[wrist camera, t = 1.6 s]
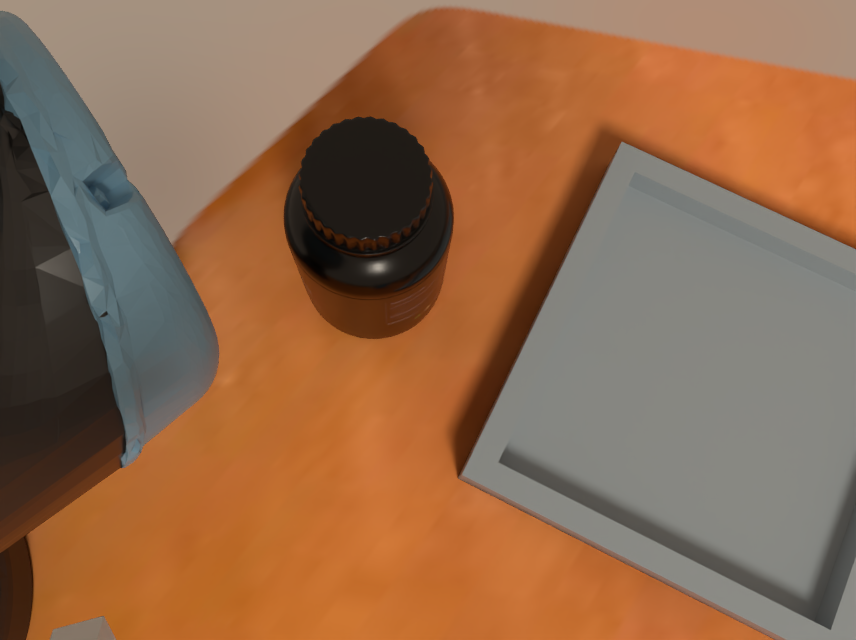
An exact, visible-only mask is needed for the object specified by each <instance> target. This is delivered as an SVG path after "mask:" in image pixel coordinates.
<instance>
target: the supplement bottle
mask: <svg viewBox="0 0 856 640" xmlns="http://www.w3.org/2000/svg"><path fill="white" fill-rule="evenodd" d="M301 166H302V167H301V169H300V170H299V171H298V173H297V174H296V176H295V177H294V179H293V181H292V183H291V185H290V188H289V190H288V193H287V197H286V200H285V206H284V227H285V233H286V238H287V242H288V245H289V248H290V250H291V253H292V255H293V258H294V260H295V263H296V265H297V268H298V270H299V273H300V275H301V278H302V280H303V283H304V285H305V288H306V291H307V293H308V295H309V297H310V299H311V301H312V303H313V305H314V306H315V308H316V310H317V311H318V312H319V313H320V315H321V316H322V317H323V318H324V319H325V320H326V321H327V322H329V323H330V324H331V325H332V326H334V327H335V328H337V329H339V330H340V331H342V332H344V333H347V334H349V335H352V336H356V337H360V338H367V339H380V338H387V337H391V336H395V335H398V334H401V333H403V332H405V331H407V330H409V329H410V328H412V327H414V326H415V325H416V324H418V323H419V322H420V321H421V320H422V319H423V318H424V317H425V316H426V315H427V314H428V313H429V311H430V310H431V308H432V307H433V305H434V304H435V302H436V300H437V298H438V295H439V293H440V290H441V286H442V282H443V278H444V273H445V268H446V263H447V258H448V253H449V248H450V243H451V238H452V233H453V223H454V212H453V204H452V199H451V195H450V192H449V189H448V187H447V185H446V182H445V180H444V179H443V177H442V175H441V174H440V172H439V171H438V169H437V168H436V167H435V166H434V165H433V163H432V162H431V161H430V160H429V158H428V156H427V155H426V154H425V151H424V147H423V146H422V145H420V144H419V143H418V141H417V139H416V137H414V136H413V135H410V134H409V133H408V131H407V130H406V129H404V128H401V127H399V126H398V125H397V124H396V123H393V122H387V121H386V120H385V119H375V118H373V117H366V118H361V117H356V118H354V119H345V120H343V121H342V122H341V123H336V124H333V125H332V126H331V127H330V128H329V129H327V130H324V131H322V133H321V134H320V136H319V137H317V138H315V139H313V142H312V145H311V146H310V147H309V148H307V149H306V156H305V157H304V158H303V159H302V161H301Z"/></svg>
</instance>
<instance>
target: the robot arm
mask: <svg viewBox="0 0 856 640" xmlns="http://www.w3.org/2000/svg"><path fill="white" fill-rule="evenodd" d="M218 363H219V345H218V340H217V335H216V332H215V329H214V326H213V324H212V321H211V319H210V317H209V315H208V312H207V310H206V308H205V306H204V304H203V302H202V300H201V298H200V296H199V294H198V292H197V290H196V288H195V286H194V284H193V283H192V281H191V279H190V277H189V275H188V273H187V271H186V269H185V268H184V266H183V264H182V262H181V260H180V259H179V257H178V255H177V253H176V251H175V250H174V248H173V246H172V244H171V243H170V241H169V239H168V237H167V236H166V234H165V232H164V230H163V229H162V227H161V226H160V224H159V222H158V221H157V219H156V217H155V216H154V214H153V213H152V211H151V209H150V208H149V206H148V204H147V203H146V201H145V199H144V198H143V197H142V195H141V194H140V193H139V191H138V190H137V189H136V187H135V186H134V185H133V184H131V183H130V182H129V181H128V180H127V175H126V170H125V169H124V167H123V165H122V164H121V162H120V161H119V159H118V158H117V156H116V155H115V153H114V152H113V150H112V149H111V146H110V144H109V142H108V140H107V138H106V136H105V135H104V132H103V131H102V129H101V128H100V126H99V125H98V123H97V122H96V120H95V118H94V117H93V115H92V114H91V112H90V111H89V109H88V107H87V106H86V104H85V103H84V101H83V100H82V98H81V97H80V95H79V94H78V92H77V91H76V89H75V88H74V86H73V85H72V83H71V82H70V81H69V79H68V78H67V76H66V75H65V73H64V72H63V70H62V69H61V68H60V66H59V65H58V63H57V62H56V61H55V59H54V58H53V56H52V55H51V54H50V52H49V51H48V50H47V48H46V47H45V46H44V44H43V43H42V42H41V40H40V39H39V38H38V37H37V36H36V34H35V33H34V32H33V31H32V30H31V29H30V28H29V26H28V25H27V24H26V23H25V22H24V21H23V20H21V19H20V18H19V17H17V16H16V15H14V14H11V13H9V12H5V11H0V640H26V636H27V632H28V627H29V621H30V615H31V605H32V574H31V567H30V560H29V555H28V550H27V546H26V543H25V539H24V536H25V535H26V534H28V533H29V532H31V531H32V530H33V529H35V528H36V527H38V526H39V525H40V524H42V523H43V522H45V521H46V520H47V519H49V518H50V517H52V516H53V515H55V514H56V513H57V512H59V511H60V510H62V509H63V508H64V507H66V506H67V505H69V504H70V503H71V502H73V501H74V500H76V499H77V498H78V497H80V496H81V495H83V494H84V493H85V492H87V491H88V490H90V489H91V488H92V487H94V486H95V485H97V484H98V483H100V482H101V481H102V480H104V479H105V478H107V477H108V476H109V475H111V474H112V473H114V472H115V471H116V470H118V469H119V468H125V467H127V466H128V465H130V464H131V463H133V462H134V461H135V460H136V459H137V458H138V456H139V454H140V453H141V451H142V447H143V446H144V445H145V444H146V443H147V442H148V441H150V440H151V439H152V438H153V437H155V436H156V435H157V434H158V433H159V432H161V431H162V430H163V429H164V428H165V427H167V426H168V425H169V424H170V423H172V422H173V421H174V420H175V419H176V418H178V417H179V416H180V415H181V414H182V413H184V412H185V411H186V410H187V409H189V408H190V407H191V406H192V405H193V404H195V403H196V402H197V401H198V400H199V399H200V398H201V397H202V396H203V395H204V394H205V393H206V392H207V390H208V389H209V387H210V386H211V384H212V382H213V380H214V378H215V375H216V372H217V368H218ZM50 640H116V638H115V636H114V635H113V633H112V631H111V629H110V627H109V625H108V623H107V621H106V619H105V617H104V616H101V617H98V618H94V619H90V620H87V621H83V622H79V623H76V624H72V625H68V626H65V627H61V628H57V629H54V630H53V632H52V635H51V638H50Z"/></svg>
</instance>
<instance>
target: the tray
mask: <svg viewBox="0 0 856 640" xmlns="http://www.w3.org/2000/svg"><path fill="white" fill-rule="evenodd" d="M458 479H460V480H462V481H464V482H466V483H468V484H470V485H472V486H474V487H476V488H478V489H480V490H482V491H484V492H486V493H488V494H490V495H492V496H494V497H496V498H498V499H500V500H502V501H504V502H505V503H507V504H509V505H511V506H513V507H515V508H517V509H519V510H521V511H523V512H525V513H527V514H529V515H531V516H533V517H535V518H537V519H539V520H541V521H543V522H545V523H547V524H549V525H551V526H553V527H555V528H557V529H559V530H561V531H562V532H564V533H566V534H568V535H570V536H572V537H574V538H576V539H578V540H580V541H582V542H584V543H586V544H588V545H590V546H592V547H594V548H596V549H598V550H600V551H602V552H604V553H606V554H608V555H610V556H612V557H614V558H616V559H618V560H619V561H621V562H623V563H625V564H627V565H629V566H631V567H633V568H635V569H637V570H639V571H641V572H643V573H645V574H647V575H649V576H651V577H653V578H655V579H657V580H659V581H661V582H663V583H665V584H667V585H669V586H671V587H673V588H675V589H676V590H678V591H680V592H682V593H684V594H686V595H688V596H690V597H692V598H694V599H696V600H698V601H700V602H702V603H704V604H706V605H708V606H710V607H712V608H714V609H716V610H718V611H720V612H722V613H724V614H726V615H728V616H730V617H732V618H733V619H735V620H737V621H739V622H741V623H743V624H745V625H747V626H749V627H751V628H753V629H755V630H757V631H759V632H761V633H763V634H765V635H767V636H769V637H771V638H773V639H775V640H856V249H854V248H852V247H850V246H847V245H845V244H843V243H841V242H839V241H837V240H834V239H832V238H830V237H828V236H826V235H824V234H821V233H819V232H817V231H815V230H813V229H811V228H808V227H806V226H804V225H802V224H800V223H798V222H795V221H793V220H791V219H789V218H787V217H784V216H782V215H780V214H778V213H776V212H774V211H771V210H769V209H767V208H765V207H763V206H761V205H758V204H756V203H754V202H752V201H750V200H748V199H745V198H743V197H741V196H739V195H737V194H735V193H732V192H730V191H728V190H726V189H724V188H722V187H719V186H717V185H715V184H713V183H711V182H709V181H706V180H704V179H702V178H700V177H698V176H695V175H693V174H691V173H689V172H687V171H685V170H682V169H680V168H678V167H676V166H674V165H672V164H669V163H667V162H665V161H663V160H661V159H659V158H656V157H654V156H652V155H650V154H648V153H646V152H643V151H641V150H639V149H637V148H635V147H633V146H630V145H628V144H626V143H624V142H621V144H620V146H619V148H618V149H617V151H616V153H615V155H614V156H613V158H612V160H611V162H610V163H609V165H608V167H607V169H606V171H605V174H604V176H603V178H602V180H601V182H600V184H599V186H598V188H597V190H596V192H595V194H594V196H593V198H592V201H591V203H590V205H589V207H588V209H587V211H586V213H585V215H584V217H583V219H582V221H581V223H580V225H579V228H578V230H577V232H576V234H575V236H574V238H573V240H572V242H571V244H570V246H569V248H568V250H567V252H566V255H565V257H564V259H563V261H562V263H561V265H560V267H559V269H558V271H557V273H556V275H555V277H554V279H553V282H552V284H551V286H550V288H549V290H548V292H547V294H546V296H545V298H544V300H543V302H542V304H541V306H540V309H539V311H538V313H537V315H536V317H535V319H534V321H533V323H532V325H531V327H530V329H529V331H528V333H527V336H526V338H525V340H524V342H523V344H522V346H521V348H520V350H519V352H518V354H517V356H516V358H515V360H514V363H513V365H512V367H511V369H510V371H509V373H508V375H507V377H506V379H505V381H504V383H503V385H502V388H501V390H500V392H499V394H498V396H497V398H496V400H495V402H494V404H493V406H492V408H491V410H490V412H489V415H488V417H487V419H486V421H485V423H484V425H483V427H482V429H481V431H480V433H479V435H478V437H477V439H476V442H475V444H474V446H473V448H472V450H471V452H470V454H469V456H468V458H467V460H466V462H465V464H464V466H463V469H462V471H461V473H460V475H459V477H458Z"/></svg>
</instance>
